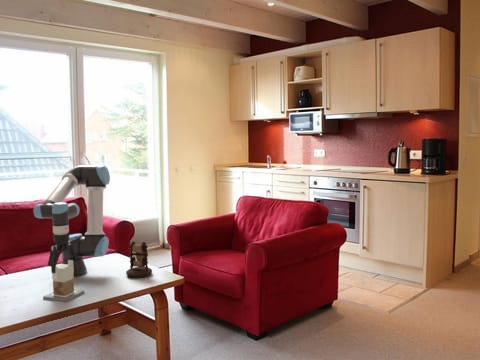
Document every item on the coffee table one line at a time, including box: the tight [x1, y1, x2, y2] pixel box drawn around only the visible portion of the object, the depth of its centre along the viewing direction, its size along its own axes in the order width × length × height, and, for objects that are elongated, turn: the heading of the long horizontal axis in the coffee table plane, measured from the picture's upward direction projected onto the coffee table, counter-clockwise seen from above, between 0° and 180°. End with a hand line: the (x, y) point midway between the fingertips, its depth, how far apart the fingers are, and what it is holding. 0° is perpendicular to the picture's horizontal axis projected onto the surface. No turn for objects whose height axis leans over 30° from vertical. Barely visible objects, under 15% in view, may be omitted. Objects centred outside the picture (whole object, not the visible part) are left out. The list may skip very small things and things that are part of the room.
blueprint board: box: [42, 288, 85, 303], centre depth 239 cm, size 14×14×2 cm
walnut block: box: [52, 277, 75, 296], centre depth 238 cm, size 7×7×7 cm
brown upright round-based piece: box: [125, 240, 153, 279], centre depth 273 cm, size 15×15×20 cm
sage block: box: [52, 263, 75, 282], centre depth 238 cm, size 7×7×7 cm
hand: (63, 275), depth 238 cm, fingers open, 11 cm apart
